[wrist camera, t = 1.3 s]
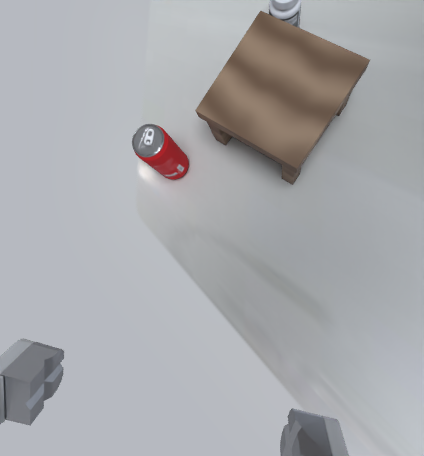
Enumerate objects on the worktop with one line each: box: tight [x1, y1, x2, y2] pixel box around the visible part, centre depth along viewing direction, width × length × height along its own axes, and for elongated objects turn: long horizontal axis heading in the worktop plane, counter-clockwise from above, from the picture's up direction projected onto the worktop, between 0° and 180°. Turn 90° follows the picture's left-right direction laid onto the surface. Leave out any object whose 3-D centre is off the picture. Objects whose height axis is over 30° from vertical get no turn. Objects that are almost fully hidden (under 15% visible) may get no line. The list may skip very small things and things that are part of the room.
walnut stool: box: [195, 11, 370, 185], centre depth 46 cm, size 16×16×11 cm
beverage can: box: [132, 124, 189, 179], centre depth 48 cm, size 5×5×12 cm
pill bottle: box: [269, 0, 301, 28], centre depth 49 cm, size 5×5×8 cm
